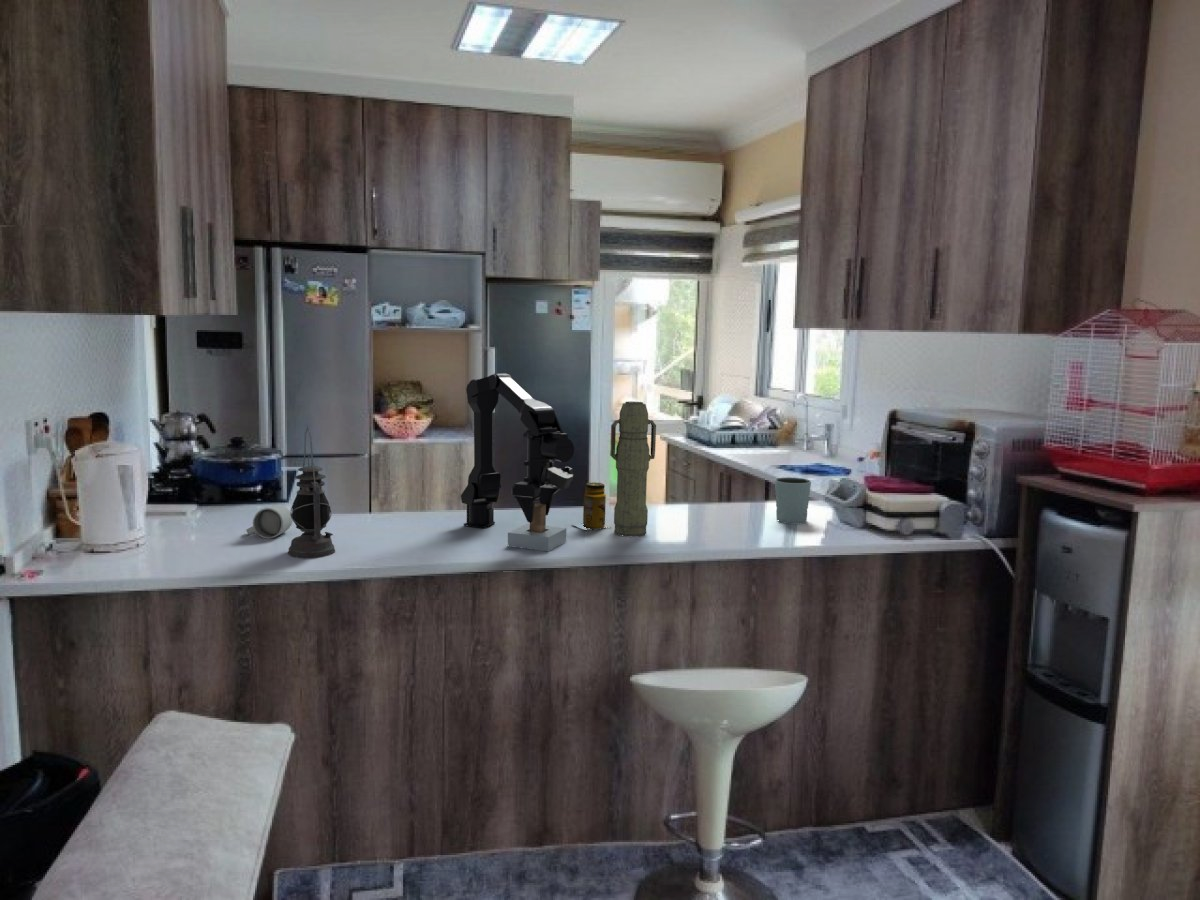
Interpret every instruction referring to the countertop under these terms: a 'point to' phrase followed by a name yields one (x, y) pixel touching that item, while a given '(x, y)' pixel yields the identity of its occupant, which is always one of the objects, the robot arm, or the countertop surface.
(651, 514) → the countertop surface
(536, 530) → the peg
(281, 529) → the ceramic mug
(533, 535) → the holder
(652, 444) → the thermos
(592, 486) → the condiment
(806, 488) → the grey cup
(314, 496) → the lantern
